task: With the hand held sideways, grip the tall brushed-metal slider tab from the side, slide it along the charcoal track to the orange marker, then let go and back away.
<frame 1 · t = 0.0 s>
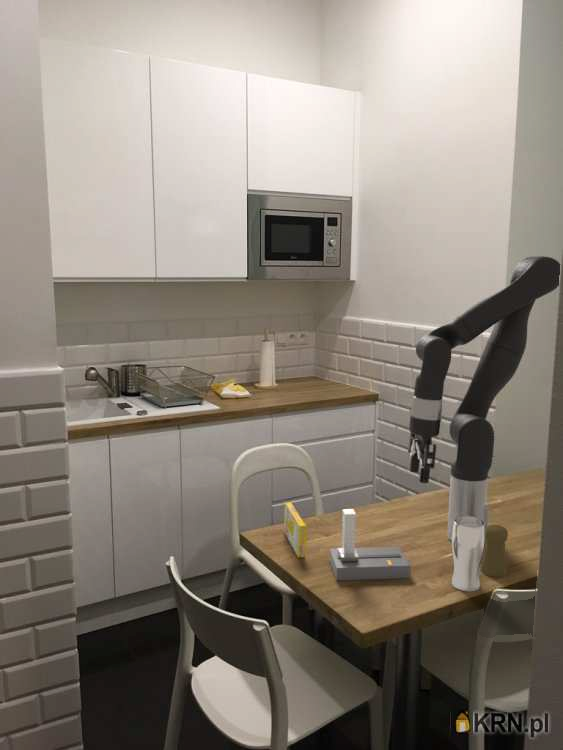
hand: (418, 477, 163), 17 cm above the table, tool pointing down, fingers open, 8 cm apart
slider tab: (348, 534, 148), point 9 cm above the table, slide at 5.0 cm
beer glass: (465, 585, 143), on the table
candy box: (294, 544, 163), on the table
fader console: (368, 568, 150), on the table
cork: (493, 572, 149), on the table
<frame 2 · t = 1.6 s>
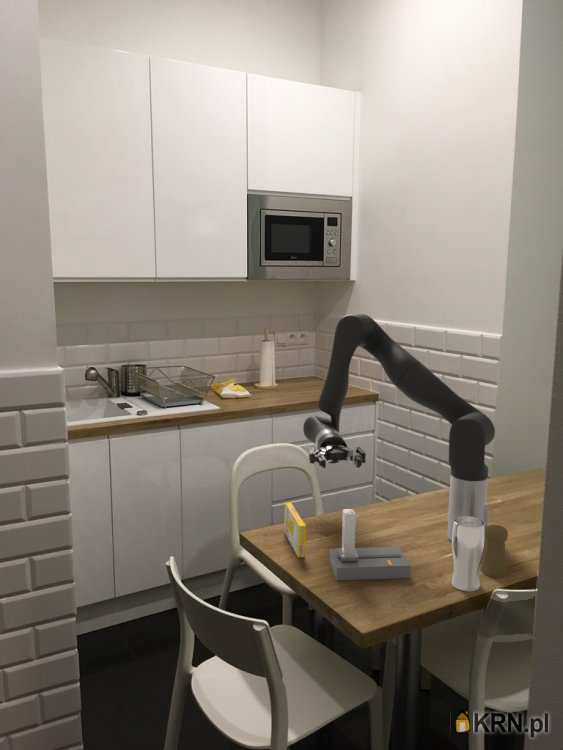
hand: (341, 464, 156), 22 cm above the table, tool horizontal, fingers open, 8 cm apart
nothing on the table moved.
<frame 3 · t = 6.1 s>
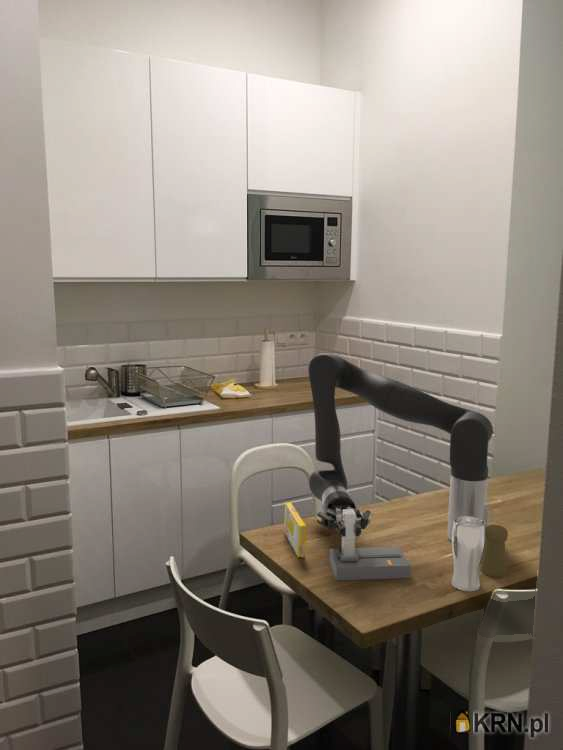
hand: (351, 532, 145), 10 cm above the table, tool horizontal, fingers closed on slider tab, 2 cm apart
slider tab: (348, 534, 148), point 9 cm above the table, slide at 5.0 cm, touching gripper
everything else where it was.
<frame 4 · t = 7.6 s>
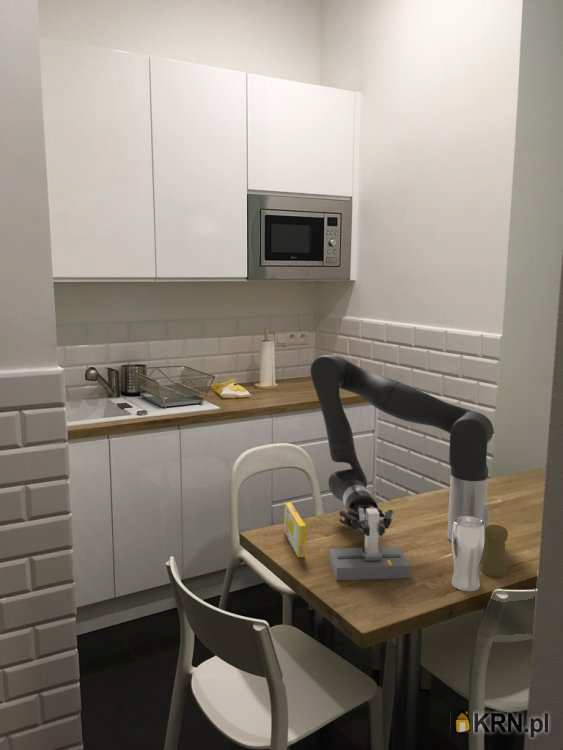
hand: (374, 531, 145), 11 cm above the table, tool horizontal, fingers closed on slider tab, 2 cm apart
slider tab: (371, 533, 148), point 9 cm above the table, slide at -0.5 cm, touching gripper
everything else where it was.
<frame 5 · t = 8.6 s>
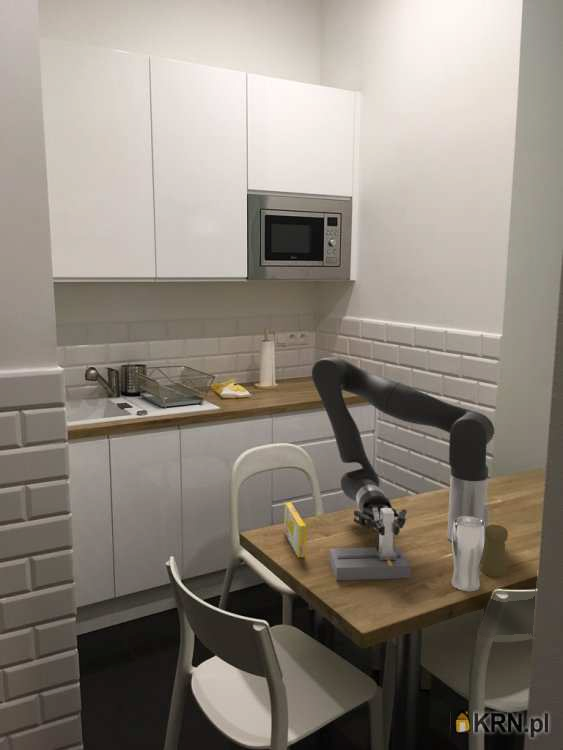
hand: (389, 531, 146), 11 cm above the table, tool horizontal, fingers closed on slider tab, 2 cm apart
slider tab: (386, 533, 149), point 9 cm above the table, slide at -3.9 cm, touching gripper
everything else where it was.
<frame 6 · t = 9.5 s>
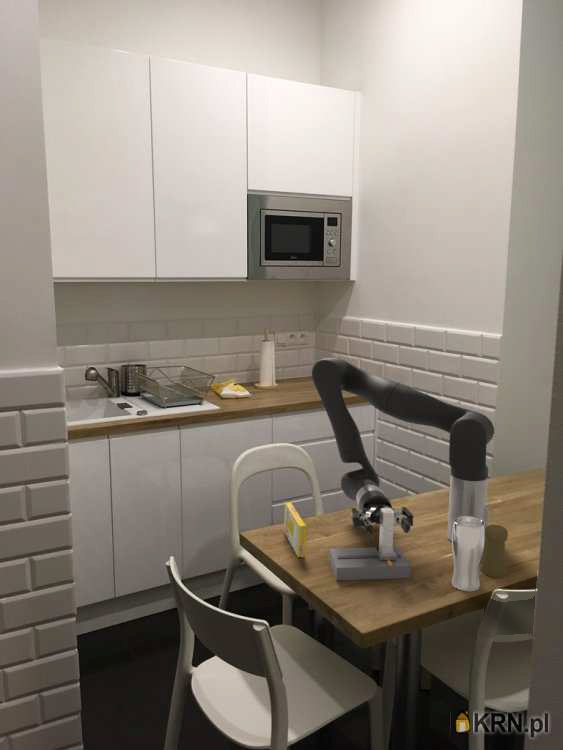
hand: (388, 529, 147), 10 cm above the table, tool horizontal, fingers open, 8 cm apart
slider tab: (386, 533, 149), point 9 cm above the table, slide at -3.9 cm
everything else where it was.
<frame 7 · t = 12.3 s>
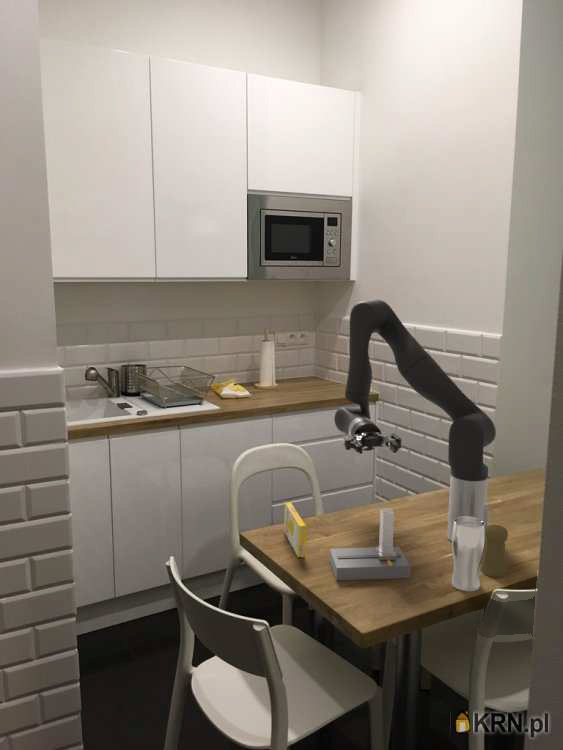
hand: (378, 449, 157), 26 cm above the table, tool horizontal, fingers open, 8 cm apart
nothing on the table moved.
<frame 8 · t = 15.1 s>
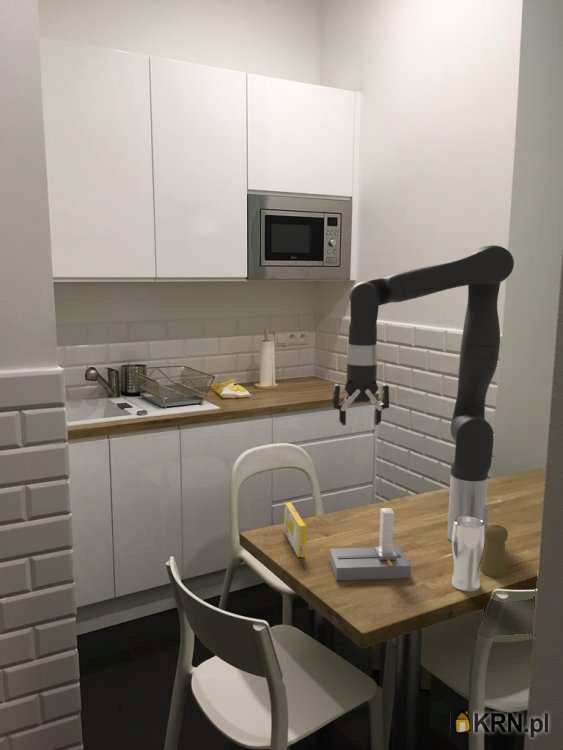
hand: (360, 424, 164), 30 cm above the table, tool pointing down, fingers open, 8 cm apart
nothing on the table moved.
at the end: slider tab slide at -3.9 cm; the gripper is holding nothing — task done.
